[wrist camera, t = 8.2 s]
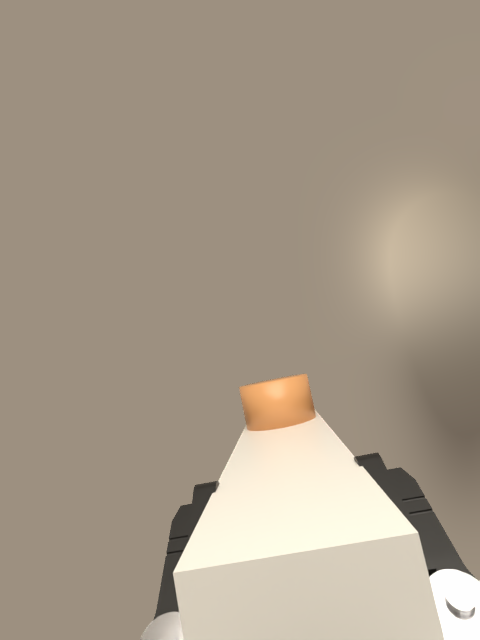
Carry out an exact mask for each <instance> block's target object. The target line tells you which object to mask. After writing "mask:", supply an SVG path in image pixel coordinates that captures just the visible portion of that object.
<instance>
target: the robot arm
mask: <svg viewBox="0 0 480 640" xmlns="http://www.w3.org/2000/svg"><path fill="white" fill-rule="evenodd" d="M354 460H355V462H356V463H357V464H358V465H359V467H360V466H363V467H364V469H365V470H366V471H367V472H368V473H369V475H370V476H371V477H372V478H373V479H374V480H375V482H376V483H377V484H378V485H379V486H380V488H381V489H382V490H383V491H384V492H385V494H386V495H387V496H388V497H389V498H390V500H391V501H392V502H393V503H394V504H395V505H396V507H397V508H398V509H399V510H400V511H401V513H402V514H403V515H404V516H405V517H406V519H407V520H408V521H409V522H410V523H411V525H412V526H413V527H414V528H415V529H416V530H417V532H418V533H419V537H420V541H421V546H422V550H423V554H424V558H425V562H426V566H427V570H428V574H429V578H430V582H431V586H432V590H433V594H434V598H435V602H436V606H437V610H438V614H439V618H440V622H441V626H442V630H443V634H444V638H445V640H480V581H479V580H478V579H476V578H475V577H474V576H473V575H472V574H471V573H470V572H469V571H468V569H467V568H466V567H465V565H464V564H463V562H462V560H461V559H460V557H459V555H458V553H457V552H456V550H455V548H454V546H453V545H452V543H451V541H450V539H449V538H448V536H447V534H446V532H445V531H444V529H443V527H442V525H441V524H440V522H439V520H438V519H437V517H436V515H435V513H434V512H433V511H432V508H431V506H430V504H429V503H428V501H427V499H425V496H424V494H423V492H422V490H421V489H420V487H419V485H418V483H417V482H416V480H415V479H414V478H413V477H411V476H410V475H409V474H408V473H407V472H405V471H404V470H403V469H402V468H395V469H389V470H387V469H386V467H385V465H384V463H383V461H382V459H381V457H380V455H379V454H378V453H373V454H367V455H362V456H356V457H354ZM219 484H220V483H219V482H218V481H215V482H209V483H204V484H198V485H195V487H194V492H193V501H192V504H188V505H183V506H181V507H180V508H179V510H178V512H177V514H176V515H175V517H174V519H173V521H172V525H171V530H170V536H169V542H168V548H167V556H166V559H165V564H164V570H163V576H162V582H161V588H160V593H159V599H158V604H157V610H156V614H155V617H154V620H153V621H152V622H151V624H150V625H149V626H148V627H147V628H146V630H145V631H144V633H143V634H142V637H141V639H140V640H184V639H183V633H182V626H181V620H180V614H179V608H178V602H177V595H176V589H175V583H174V577H173V572H174V570H175V568H176V566H177V564H178V562H179V560H180V558H181V555H182V553H183V551H184V549H185V547H186V545H187V543H188V541H189V539H190V537H191V535H192V533H193V531H194V529H195V527H196V525H197V523H198V521H199V519H200V517H201V515H202V513H203V511H204V509H205V507H206V505H207V503H208V501H209V499H210V497H211V495H212V493H215V492H216V490H217V488H218V486H219Z"/></svg>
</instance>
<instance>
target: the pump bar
mask: <svg viewBox="0 0 480 640" xmlns="http://www.w3.org/2000/svg"><path fill="white" fill-rule="evenodd" d="M239 389H240V394H241V400H242V404H243V410H244V415H245V420H246V427H245V428H244V430H243V433H242V434H241V436H240V439H239V440H238V442H237V445H236V447H235V448H234V451H233V452H232V455H231V457H230V459H229V461H228V463H227V465H226V467H225V469H224V471H223V473H222V475H221V477H220V479H219V481H218V482H219V483H220V484H219V486H218V488H217V490H216V492H215V493H212V495H211V497H210V499H209V501H208V503H207V505H206V507H205V509H204V511H203V513H202V515H201V517H200V519H199V521H198V523H197V525H196V527H195V529H194V531H193V533H192V535H191V537H190V539H189V541H188V543H187V545H186V547H185V549H184V551H183V553H182V555H181V558H180V560H179V562H178V564H177V566H176V568H175V570H174V572H173V577H174V583H175V589H176V595H177V602H178V608H179V614H180V620H181V626H182V633H183V639H184V640H445V638H444V634H443V630H442V626H441V622H440V618H439V614H438V610H437V606H436V602H435V598H434V594H433V590H432V586H431V582H430V578H429V574H428V570H427V566H426V562H425V558H424V554H423V550H422V546H421V541H420V537H419V533H418V532H417V530H416V529H415V528H414V527H413V526H412V525H411V523H410V522H409V521H408V520H407V519H406V517H405V516H404V515H403V514H402V513H401V511H400V510H399V509H398V508H397V507H396V505H395V504H394V503H393V502H392V501H391V500H390V498H389V497H388V496H387V495H386V494H385V492H384V491H383V490H382V489H381V488H380V486H379V485H378V484H377V483H376V482H375V480H374V479H373V478H372V477H371V476H370V475H369V473H368V472H367V471H366V470H365V469H364V467H363V466H360V467H359V465H358V464H357V463H356V462H355V460H354V456H353V454H352V453H351V452H350V451H349V450H348V448H347V447H346V446H345V445H344V444H343V442H342V441H341V440H340V439H339V438H338V437H337V435H336V434H335V433H334V432H333V431H332V429H331V428H330V427H329V426H328V425H327V424H326V422H325V421H324V420H323V419H322V417H321V416H320V415H319V414H318V413H317V411H316V410H315V409H314V405H313V400H312V396H311V391H310V386H309V382H308V377H307V374H300V375H293V376H287V377H282V378H277V379H272V380H267V381H262V382H257V383H253V384H249V385H245V386H241V387H239Z"/></svg>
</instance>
